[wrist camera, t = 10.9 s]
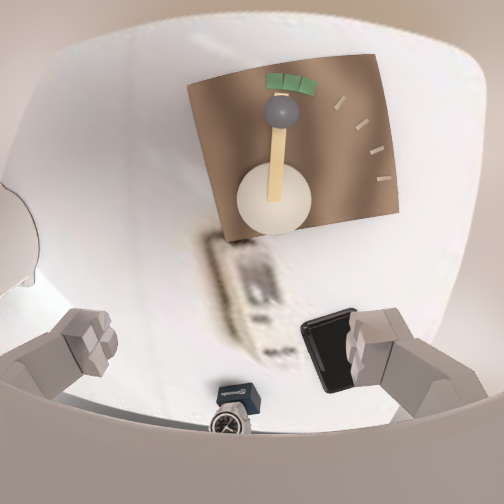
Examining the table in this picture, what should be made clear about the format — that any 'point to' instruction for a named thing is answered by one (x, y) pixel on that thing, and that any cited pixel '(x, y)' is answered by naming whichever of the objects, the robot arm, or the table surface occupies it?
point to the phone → (330, 349)
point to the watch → (235, 409)
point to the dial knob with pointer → (275, 179)
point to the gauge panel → (302, 137)
